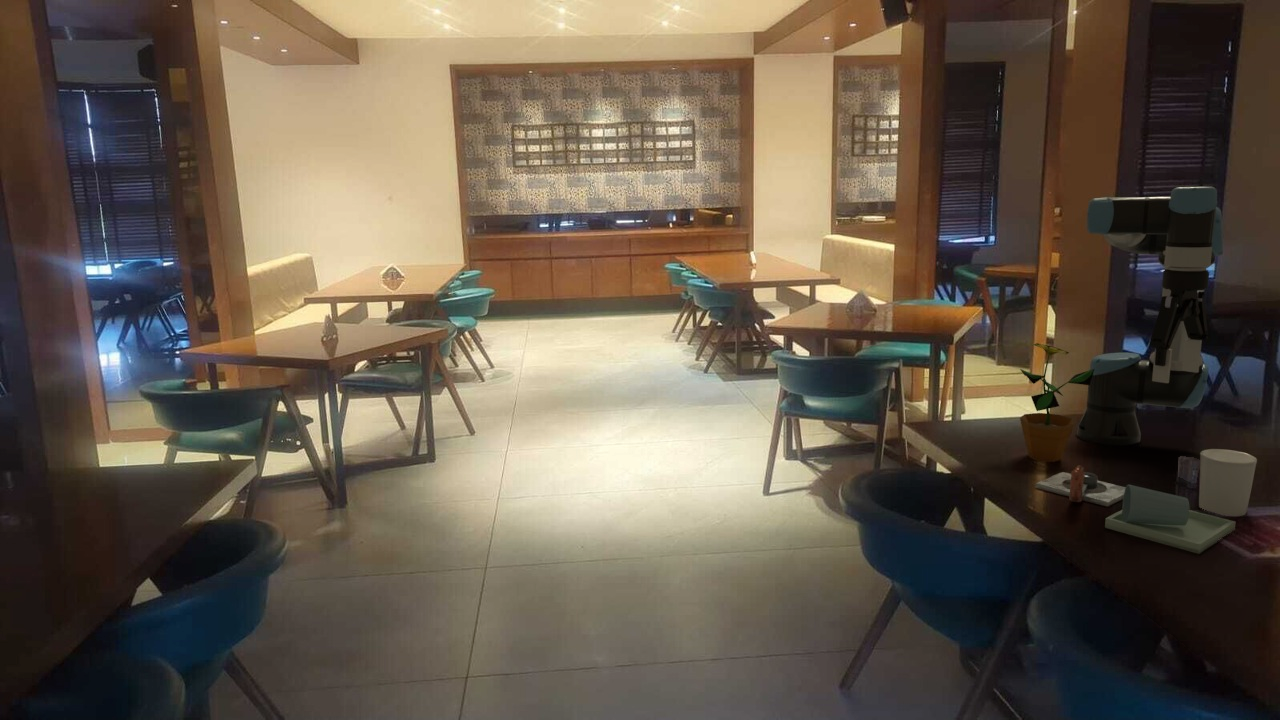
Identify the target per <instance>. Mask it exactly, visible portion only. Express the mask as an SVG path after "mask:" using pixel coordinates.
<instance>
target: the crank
mask: <svg viewBox="0 0 1280 720" xmlns="http://www.w3.org/2000/svg"><path fill="white" fill-rule="evenodd" d="M1084 470H1085V469H1084V466H1083V465H1079V464H1078V465H1076V466H1075V468H1074V469H1073V470H1071V471H1070V472H1071V473H1070V474H1071V483H1070V496H1068V498H1069V499H1068V500H1069V501H1070V502H1074V503H1081V502H1082V501H1083V500H1082V499H1083V497H1084V495H1085V494H1086V492H1087V490H1088V489H1095V488H1097V480H1098V481H1099V479H1098V477H1099V475H1097V474H1095V473H1093V472H1088V471H1084Z"/></svg>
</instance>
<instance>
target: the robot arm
mask: <svg viewBox="0 0 1280 720" xmlns="http://www.w3.org/2000/svg"><path fill="white" fill-rule="evenodd" d="M1217 198H1218V190H1217V188H1215V187H1214V186H1184V187H1183V186H1182V187H1181V186H1179V187H1175V188H1173V189H1172V190H1171V193H1170V196H1144V197H1143V196H1142V197H1139V196H1138V197H1136V196H1135V197H1134V196H1133V197H1128V196H1127V197H1111V196H1105V197H1096V198H1095V197H1094V198H1091V200H1090V201H1089V203H1088V206H1087V213H1086V231H1087V233H1089V234H1092V235H1093V234H1095V235H1102V236H1103V239H1105V241H1106V242H1107V243H1108V244H1109V245H1110V246H1112V247H1114V248H1116V249H1120V250H1122V251H1126V252H1128V253H1132V254H1137V255H1138V254H1139V255H1158V261H1157V262H1158V263H1159V265H1161V266H1162V267H1163V268H1164V270H1163V271H1162V281H1161V287H1162V294H1161V295H1162V297H1161V300H1160V307H1159V311H1158V315H1157V317H1156V321H1155V324H1154V327H1153V331H1152V334H1151V337H1150V341H1149V348H1151V349H1154V351H1153V352H1151V353H1150V356H1149V360H1148V359H1147V360H1146V359H1142V357H1141V355H1140V354H1139V353H1135V352H1109V353H1104V354H1099V355H1096V356H1094V357H1093V358H1092V359H1091V360H1090V363H1089V364H1090V365H1089V370H1092V369H1094V372H1093V376H1092V379H1091V383H1090V385H1087V394H1086V396H1087V397H1086V408H1085V410H1084V413H1083V415H1082V417H1081V420H1080V421H1079V423H1078V426H1077V432H1076V435H1077V437H1078V438H1080V439H1082V440H1083V441H1087V442H1089V443H1090V442H1091V443H1093V444H1100V445H1108V446H1131V445H1137V444H1139V443H1140V442H1141V435H1142V433H1141V430H1140V426H1139V422H1138V418H1137V415H1136V405H1137V404H1140V405H1141V404H1142V405H1149V406H1159V407H1160V406H1162V407H1172V408H1176V409H1181V408H1183V409H1184V408H1185V409H1194V408H1197V407H1198V406H1199V405H1200V403H1201V402H1202V399H1203V396H1204V394H1205V390H1206V387H1207V382H1208V381H1207V380H1208V377H1209V365H1208V364H1205V363H1204V362H1203V360H1204V359H1203V357H1202V355H1201V351H1202V342H1203V341H1202V340H1204V341H1205V340H1206V341H1207V340H1208V338H1209V335H1208V331H1209V330H1208V323H1207V321H1208V320H1207V313H1206V305H1205V304H1206V303H1205V298H1206V297H1205V296H1206V292H1205V291H1206V290H1207V289H1208V287H1209V279H1210V271H1209V270H1208V268H1210V267H1211V266H1212V265H1214V264H1215V262H1216V257H1220V256H1222V255H1223V254H1224V241H1223V239H1224V238H1223V218H1222V215H1223V214H1222V211H1221V209H1220V207H1218V199H1217Z"/></svg>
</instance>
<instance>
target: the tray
mask: <svg viewBox="0 0 1280 720" xmlns="http://www.w3.org/2000/svg"><path fill="white" fill-rule="evenodd" d="M1104 524H1105V525H1104V528H1105V529H1108V530H1111V531H1115V532H1119V533H1123V534H1127V535H1130V536H1133V537H1137V538H1141V539H1144V540H1148V541H1152V542H1154V543H1159V544H1162V545H1166V546H1170V547H1172V548H1177V549H1181V550H1184V551H1188V552H1190V553H1194V554H1198V555H1200V554H1201V553H1203V552H1204V551H1205V550H1208V549H1209V548H1210V547H1212V546H1214V545H1215V544H1216V543H1218V542H1219V541H1218V539H1220V538H1222V537H1224V536H1226V535H1227V534H1229V533H1230V532H1232V531H1233V530H1236V521H1235V520H1230V519H1227V518H1223V517H1218V516H1215V515H1211V514H1206V513H1202V512H1198V511H1195V510H1190V509H1189V518H1188V521H1187V524H1186V525H1185V526H1180V525H1161V524H1143V523H1126V522H1124V521H1123V516H1122V509H1121V510H1119V511H1117V512H1115V513H1113V514H1111V515H1109V516H1108V517H1106V518H1105V522H1104ZM1233 532H1234V531H1233ZM1233 532H1232V533H1233ZM1230 534H1231V533H1230ZM1230 534H1229V535H1230ZM1227 536H1228V535H1227ZM1227 536H1226V537H1227ZM1224 538H1225V537H1224ZM1222 539H1223V538H1222ZM1217 541H1218V542H1217Z"/></svg>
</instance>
